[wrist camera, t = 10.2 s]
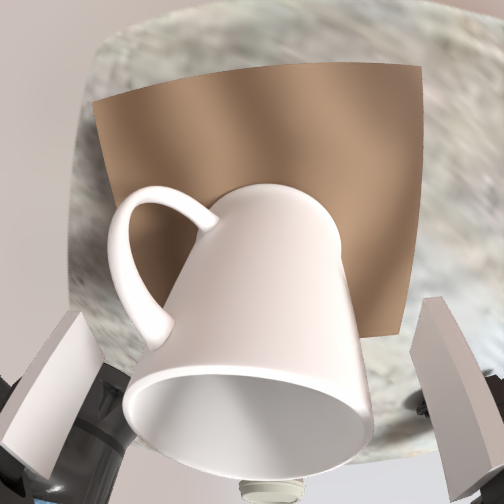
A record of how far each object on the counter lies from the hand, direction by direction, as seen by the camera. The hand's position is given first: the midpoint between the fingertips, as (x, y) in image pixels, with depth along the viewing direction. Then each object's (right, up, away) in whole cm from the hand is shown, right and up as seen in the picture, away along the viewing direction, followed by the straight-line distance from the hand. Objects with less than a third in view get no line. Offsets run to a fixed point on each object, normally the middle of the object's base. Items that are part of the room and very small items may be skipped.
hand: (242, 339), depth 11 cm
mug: (0, +4, +7) cm, 9 cm away
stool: (+2, +8, +13) cm, 15 cm away
